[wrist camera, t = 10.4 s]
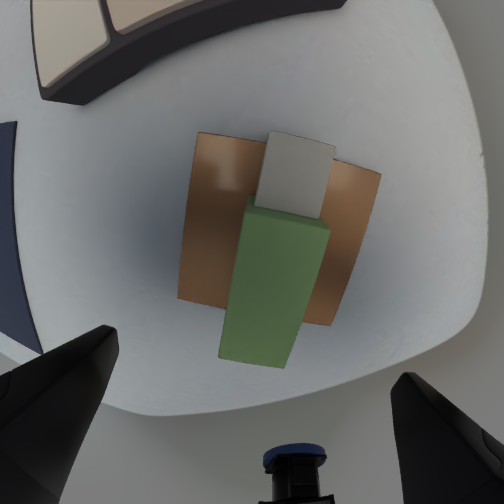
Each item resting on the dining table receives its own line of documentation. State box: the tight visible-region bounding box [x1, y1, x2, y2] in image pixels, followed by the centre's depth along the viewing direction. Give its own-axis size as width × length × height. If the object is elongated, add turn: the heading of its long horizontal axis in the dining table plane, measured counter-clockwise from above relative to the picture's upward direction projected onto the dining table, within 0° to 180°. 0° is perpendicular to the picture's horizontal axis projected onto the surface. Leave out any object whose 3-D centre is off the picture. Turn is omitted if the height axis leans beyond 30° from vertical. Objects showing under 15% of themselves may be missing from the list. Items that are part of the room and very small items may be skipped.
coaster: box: [178, 132, 381, 326], centre depth 14 cm, size 9×9×1 cm
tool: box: [218, 131, 336, 368], centre depth 12 cm, size 10×3×4 cm, turn 169°
